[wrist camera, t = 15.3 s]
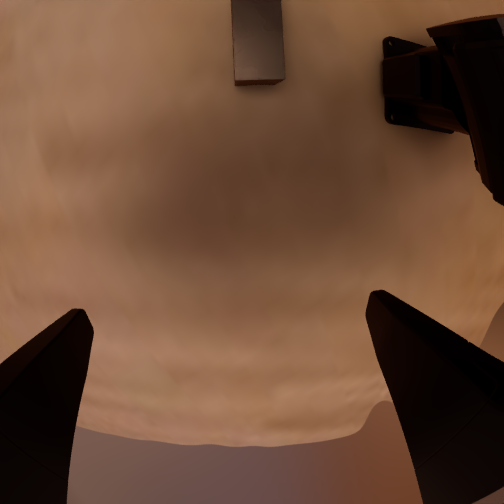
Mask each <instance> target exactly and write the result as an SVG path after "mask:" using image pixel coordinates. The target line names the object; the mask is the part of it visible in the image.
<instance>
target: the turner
mask: <svg viewBox="0 0 504 504" xmlns="http://www.w3.org/2000/svg"><path fill="white" fill-rule="evenodd" d="M231 14H232V36H233V58H234V78H235V86H247V85H275V84H277V83H279V82H281V81H283V80H285V63H284V43H283V25H282V10H281V0H231Z"/></svg>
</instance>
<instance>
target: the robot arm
mask: <svg viewBox="0 0 504 504" xmlns="http://www.w3.org/2000/svg"><path fill="white" fill-rule="evenodd" d="M426 30H427V32H428V34H429V36H430V38H431V37H432V38H433V40H434V42H435V44H436V46H431V47H426V46H423V45H420V44H416V43H413V42H410V41H406V40H403V39H399V38H395V37H391V36H389V37H386V38H384V40H383V48H384V60H383V93H384V95H385V119H386V121H387V122H388V123H390V124H394V125H402V126H409V127H415V128H422V129H428V130H433V131H438V132H444V133H449V134H452V133H454V131H457V132H460V133H464V134H467V135H469V136H470V139H471V143H472V147H473V152H474V156H475V161H474V163H475V167H476V170H477V171H478V172H479V173H480V176H481V180H482V183H483V184H484V185H485V186H486V188H487V189H488V190H489V191H490V192H491V193H492V194H493V199H494V200H495V201H496V202H498V203H499V204H501V205H503V206H504V14H496V15H487V16H480V17H473V18H468V19H463V20H458V21H454V22H450V23H445V24H441V25H438V26H434V27H430V28H427V29H426ZM389 41H391V42H392V46H391V45H390V44H389ZM392 114H393V115H394V119H393V120H392V119H391V115H392ZM366 321H367V324H368V328H369V331H370V335H371V338H372V342H373V346H374V349H375V353H376V356H377V360H378V362H379V365H380V368H381V370H382V373H383V376H384V378H385V381H386V384H387V386H388V389H389V392H390V395H391V397H392V400H393V403H394V406H395V409H396V412H397V415H398V417H399V421H400V423H401V426H402V430H403V433H404V436H405V439H406V442H407V446H408V449H409V452H410V456H411V459H412V462H413V466H414V469H415V474H416V477H417V481H418V485H419V489H420V492H421V497H422V500H423V504H504V362H503V361H501V360H499V359H497V358H495V357H494V356H491V355H490V354H488V353H487V352H485V351H483V350H482V349H480V348H479V347H477V346H475V345H474V344H472V343H471V342H468V341H467V340H466V339H464V338H463V337H461V336H460V335H458V334H456V333H455V332H453V331H452V330H450V329H448V328H447V327H445V326H443V325H442V324H440V323H439V322H437V321H435V320H434V319H432V318H430V317H429V316H427V315H425V314H424V313H422V312H420V311H419V310H417V309H415V308H414V307H412V306H410V305H409V304H407V303H405V302H404V301H402V300H400V299H399V298H397V297H395V296H393V295H392V294H390V293H388V292H387V291H385V290H376V291H372V292H371V293H370V296H369V300H368V304H367V308H366ZM93 336H94V330H93V326H92V324H91V322H90V320H89V318H88V316H87V314H86V312H85V310H84V309H71V310H70V311H69V312H67V313H66V314H64V315H63V316H62V317H60V318H59V319H58V320H56V321H55V322H54V323H52V324H51V325H49V326H48V327H47V328H45V329H44V330H43V331H41V332H40V333H39V334H38V335H36V336H35V337H34V338H32V339H31V340H30V341H28V342H27V343H26V344H25V345H23V346H22V347H21V348H19V349H18V350H17V351H16V352H14V353H13V354H12V355H11V356H9V357H8V358H7V359H6V360H4V361H3V362H2V363H1V364H0V504H67V490H68V477H69V467H70V460H71V452H72V445H73V438H74V432H75V427H76V422H77V417H78V411H79V407H80V402H81V397H82V393H83V389H84V384H85V380H86V376H87V371H88V365H89V358H90V352H91V347H92V341H93Z"/></svg>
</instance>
